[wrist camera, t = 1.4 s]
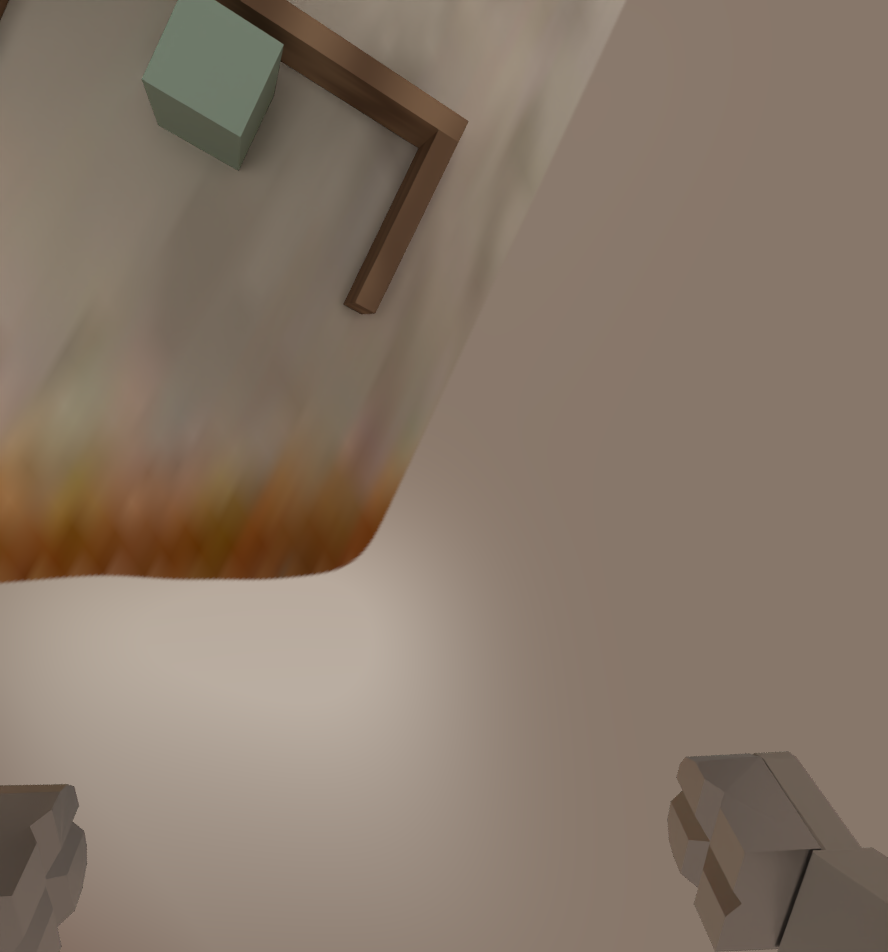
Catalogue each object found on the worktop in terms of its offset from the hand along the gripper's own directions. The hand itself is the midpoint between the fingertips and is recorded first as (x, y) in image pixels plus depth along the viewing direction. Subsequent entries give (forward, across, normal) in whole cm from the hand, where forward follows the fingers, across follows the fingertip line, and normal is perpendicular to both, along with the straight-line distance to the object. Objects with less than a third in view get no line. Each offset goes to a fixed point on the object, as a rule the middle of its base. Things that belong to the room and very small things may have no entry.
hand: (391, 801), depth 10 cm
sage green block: (+38, +8, -9) cm, 40 cm away
